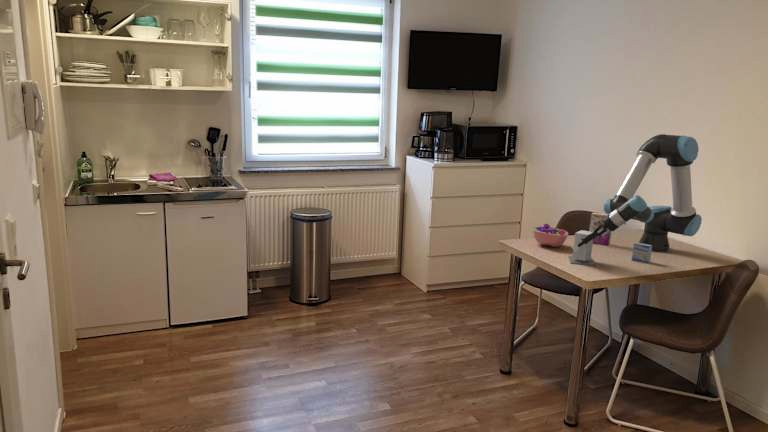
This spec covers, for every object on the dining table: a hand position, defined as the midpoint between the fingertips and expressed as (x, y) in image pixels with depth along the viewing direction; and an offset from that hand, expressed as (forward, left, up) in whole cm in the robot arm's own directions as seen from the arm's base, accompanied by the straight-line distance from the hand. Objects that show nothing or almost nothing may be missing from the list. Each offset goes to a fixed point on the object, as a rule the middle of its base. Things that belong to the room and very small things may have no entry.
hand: (575, 247), depth 277 cm
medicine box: (-32, -10, -6) cm, 34 cm away
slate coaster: (-3, +1, -6) cm, 7 cm away
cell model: (+11, -24, -6) cm, 27 cm away
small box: (-3, +1, -5) cm, 6 cm away
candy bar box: (-16, -40, -6) cm, 43 cm away
